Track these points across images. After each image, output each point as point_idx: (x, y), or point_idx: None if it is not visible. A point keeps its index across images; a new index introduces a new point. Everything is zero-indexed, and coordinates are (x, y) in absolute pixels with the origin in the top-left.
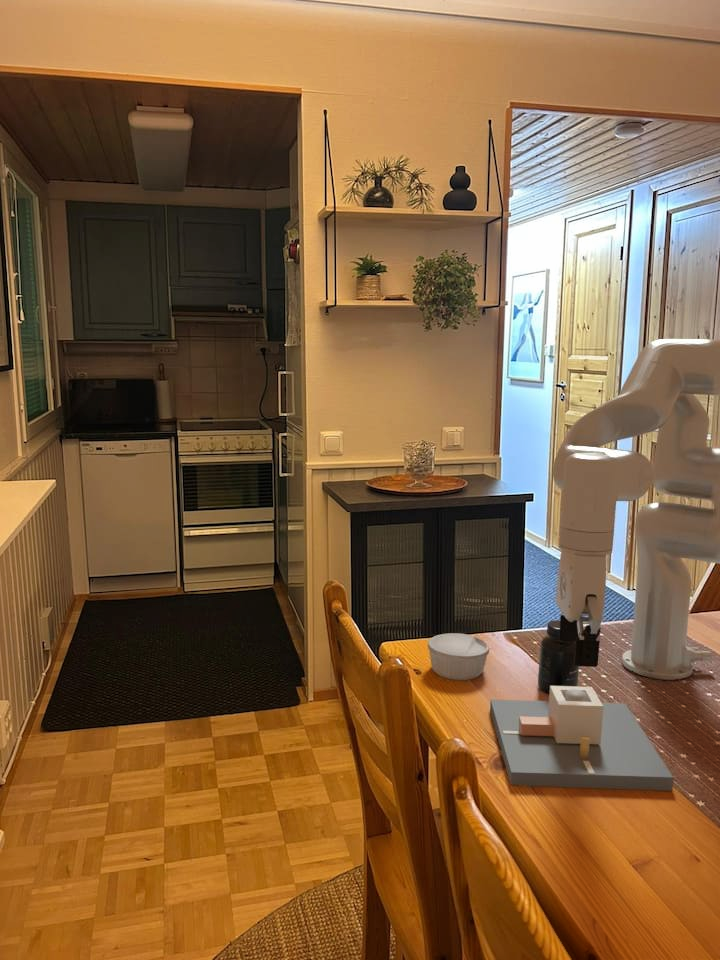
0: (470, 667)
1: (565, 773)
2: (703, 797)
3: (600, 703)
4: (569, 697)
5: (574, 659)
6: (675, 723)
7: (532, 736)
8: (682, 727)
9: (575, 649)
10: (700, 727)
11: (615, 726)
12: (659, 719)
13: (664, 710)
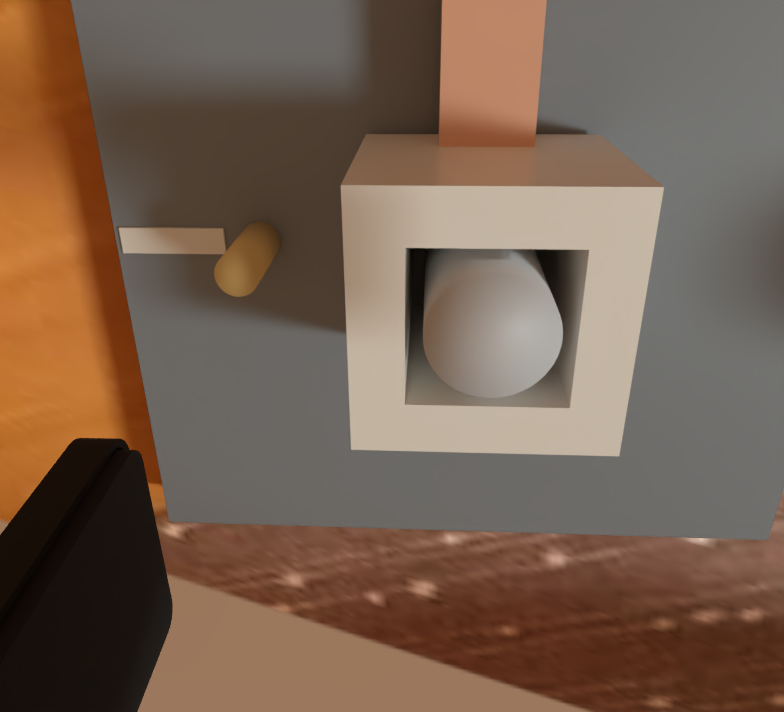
0: None
1: (98, 117)
2: (168, 557)
3: (384, 444)
4: (452, 283)
5: (80, 466)
6: (651, 639)
7: None
8: (619, 648)
9: (5, 566)
10: (614, 693)
11: None
12: (688, 604)
13: (757, 639)
